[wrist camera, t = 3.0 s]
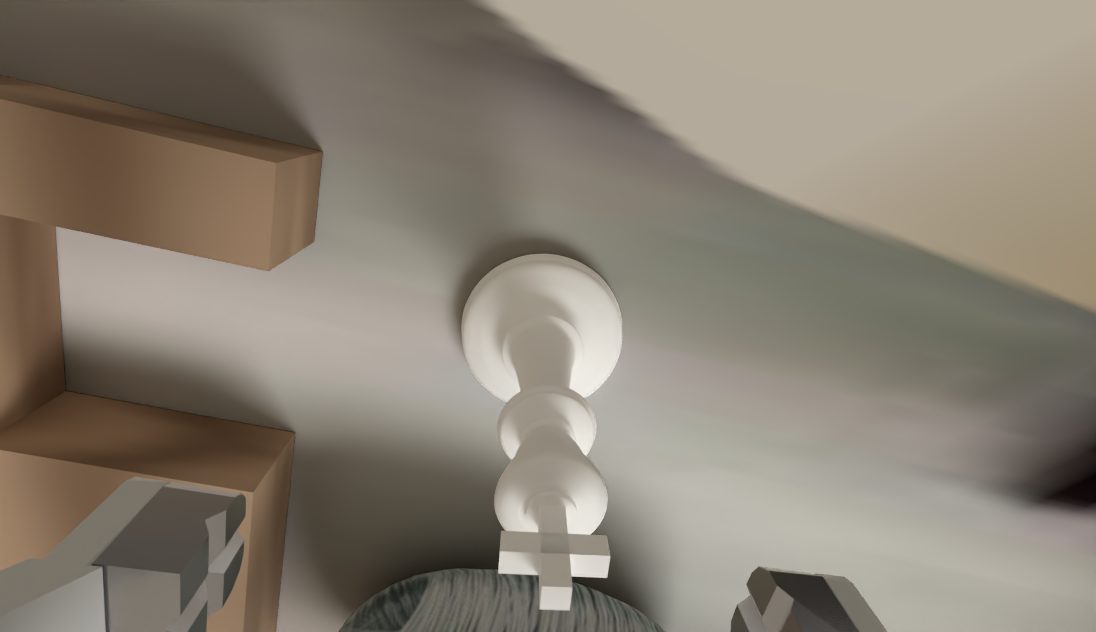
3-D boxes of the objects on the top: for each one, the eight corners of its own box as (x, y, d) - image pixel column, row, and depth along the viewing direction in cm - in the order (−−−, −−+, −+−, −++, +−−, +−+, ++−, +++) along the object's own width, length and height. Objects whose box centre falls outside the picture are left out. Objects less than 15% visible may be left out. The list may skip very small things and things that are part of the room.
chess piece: (463, 247, 16) (375, 441, 7) (632, 259, 17) (762, 461, 7) (459, 397, 18) (384, 712, 9) (611, 405, 18) (695, 721, 9)
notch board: (322, 151, 15) (276, 163, 12) (272, 668, 22) (235, 751, 19) (-171, 34, 14) (-347, 18, 11) (-63, 622, 21) (-156, 704, 18)
